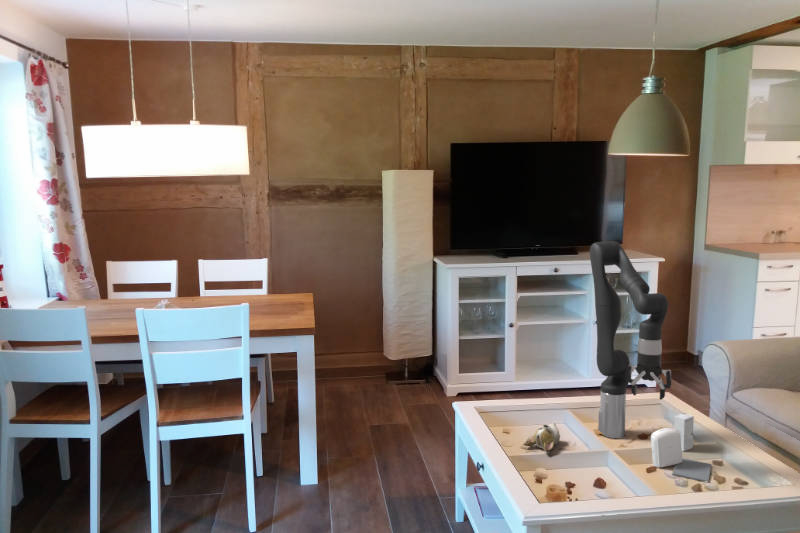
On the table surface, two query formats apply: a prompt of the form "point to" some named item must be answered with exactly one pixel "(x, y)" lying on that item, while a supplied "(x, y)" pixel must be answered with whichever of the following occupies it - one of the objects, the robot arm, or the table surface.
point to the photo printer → (666, 447)
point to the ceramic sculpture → (544, 437)
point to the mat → (692, 470)
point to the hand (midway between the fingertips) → (647, 396)
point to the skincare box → (685, 430)
